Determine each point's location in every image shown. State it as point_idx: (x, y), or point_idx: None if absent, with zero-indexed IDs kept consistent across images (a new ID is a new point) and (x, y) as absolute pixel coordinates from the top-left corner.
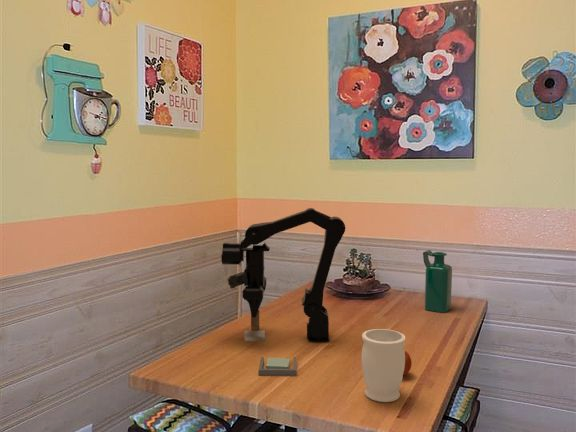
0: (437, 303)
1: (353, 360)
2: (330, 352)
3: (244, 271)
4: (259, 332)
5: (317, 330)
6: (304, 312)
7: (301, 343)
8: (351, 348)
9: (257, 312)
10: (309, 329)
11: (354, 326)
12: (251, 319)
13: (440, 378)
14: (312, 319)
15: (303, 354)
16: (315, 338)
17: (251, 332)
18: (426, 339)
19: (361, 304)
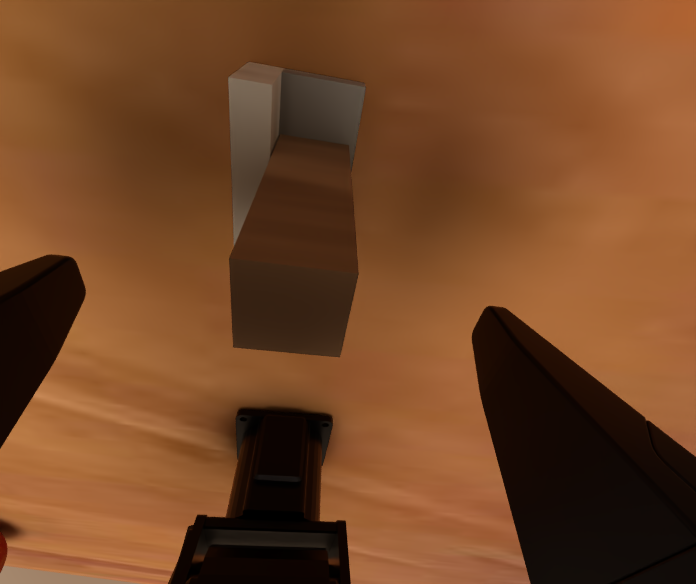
0: None
1: (59, 479)
2: (121, 446)
3: None
4: (233, 224)
5: (233, 481)
6: (200, 571)
7: (217, 384)
8: (179, 487)
9: (240, 334)
10: (252, 462)
11: (403, 512)
12: (250, 212)
13: (6, 560)
14: (186, 543)
15: (62, 376)
16: (244, 437)
17: (232, 153)
18: None
19: None
